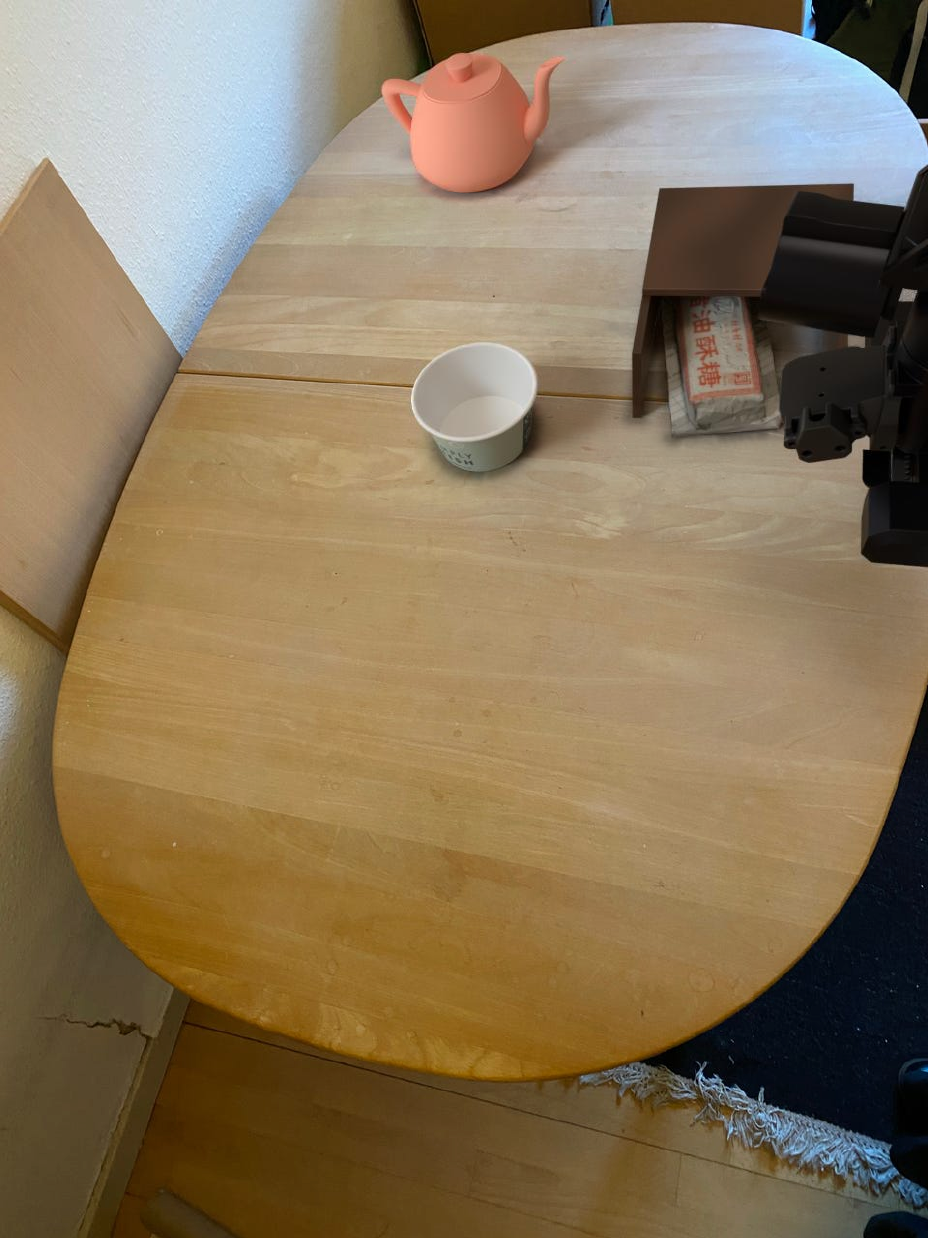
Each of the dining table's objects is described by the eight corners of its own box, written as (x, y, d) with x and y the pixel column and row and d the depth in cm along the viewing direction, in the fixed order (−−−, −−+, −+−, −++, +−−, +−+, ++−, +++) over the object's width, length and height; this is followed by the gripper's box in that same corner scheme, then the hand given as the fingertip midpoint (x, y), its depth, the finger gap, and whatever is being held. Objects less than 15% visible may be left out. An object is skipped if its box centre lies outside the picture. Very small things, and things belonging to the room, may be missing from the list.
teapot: (583, 122, 103) (577, 14, 92) (557, 204, 97) (547, 98, 86) (417, 124, 109) (393, 23, 98) (383, 202, 103) (353, 103, 92)
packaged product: (790, 395, 73) (673, 406, 74) (782, 431, 77) (671, 440, 79) (765, 252, 81) (660, 265, 83) (759, 292, 85) (659, 304, 87)
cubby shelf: (833, 266, 85) (854, 182, 77) (827, 426, 76) (849, 351, 68) (657, 266, 89) (659, 187, 81) (632, 417, 81) (631, 346, 73)
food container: (405, 463, 83) (387, 420, 78) (460, 376, 87) (447, 329, 82) (511, 498, 79) (502, 454, 73) (564, 404, 83) (559, 356, 77)
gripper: (807, 221, 51) (772, 398, 64) (791, 469, 43) (756, 611, 56) (1015, 218, 48) (932, 404, 61) (1039, 484, 40) (938, 630, 53)
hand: (886, 506), depth 58 cm, fingers closed
